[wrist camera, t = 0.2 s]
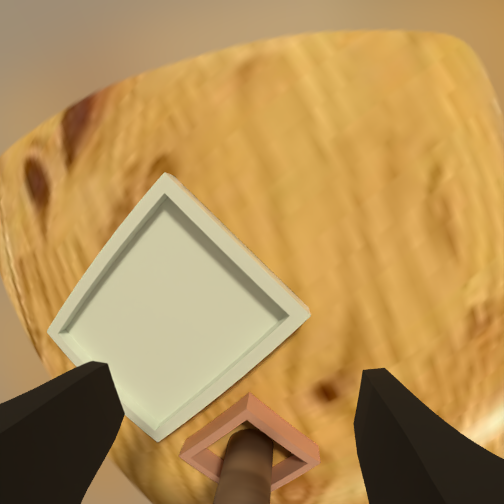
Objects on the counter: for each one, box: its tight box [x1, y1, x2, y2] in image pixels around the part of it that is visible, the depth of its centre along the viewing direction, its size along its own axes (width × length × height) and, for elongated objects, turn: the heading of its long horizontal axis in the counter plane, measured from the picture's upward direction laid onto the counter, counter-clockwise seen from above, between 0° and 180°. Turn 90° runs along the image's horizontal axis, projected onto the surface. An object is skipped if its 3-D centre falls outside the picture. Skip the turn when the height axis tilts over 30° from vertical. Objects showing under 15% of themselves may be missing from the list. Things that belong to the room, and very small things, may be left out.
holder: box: [179, 392, 320, 492], centre depth 19 cm, size 7×7×2 cm
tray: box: [47, 172, 311, 442], centre depth 18 cm, size 14×11×2 cm
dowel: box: [213, 429, 273, 504], centre depth 15 cm, size 3×3×9 cm
